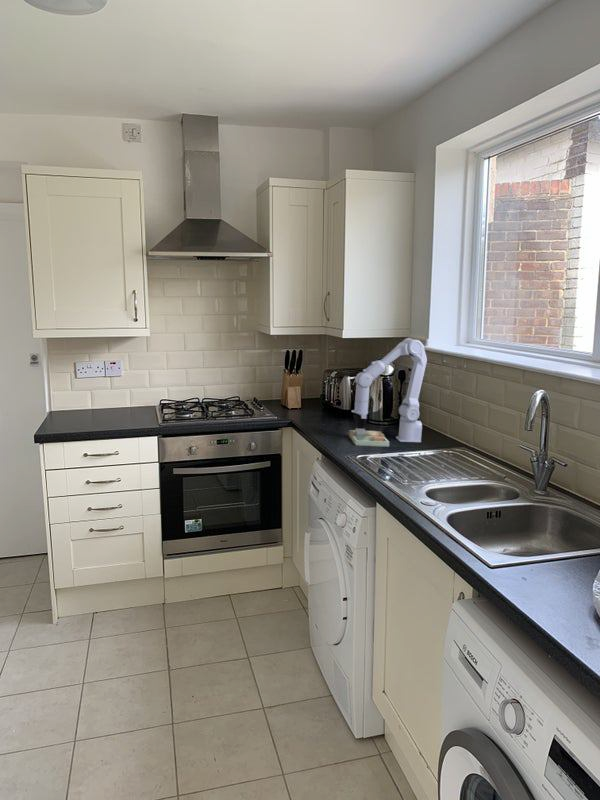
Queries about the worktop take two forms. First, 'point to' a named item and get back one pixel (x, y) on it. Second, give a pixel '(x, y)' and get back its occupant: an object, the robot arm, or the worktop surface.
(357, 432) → the grey tile
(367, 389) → the robot arm
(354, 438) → the tray
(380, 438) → the terracotta tile
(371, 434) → the board
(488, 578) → the worktop surface
